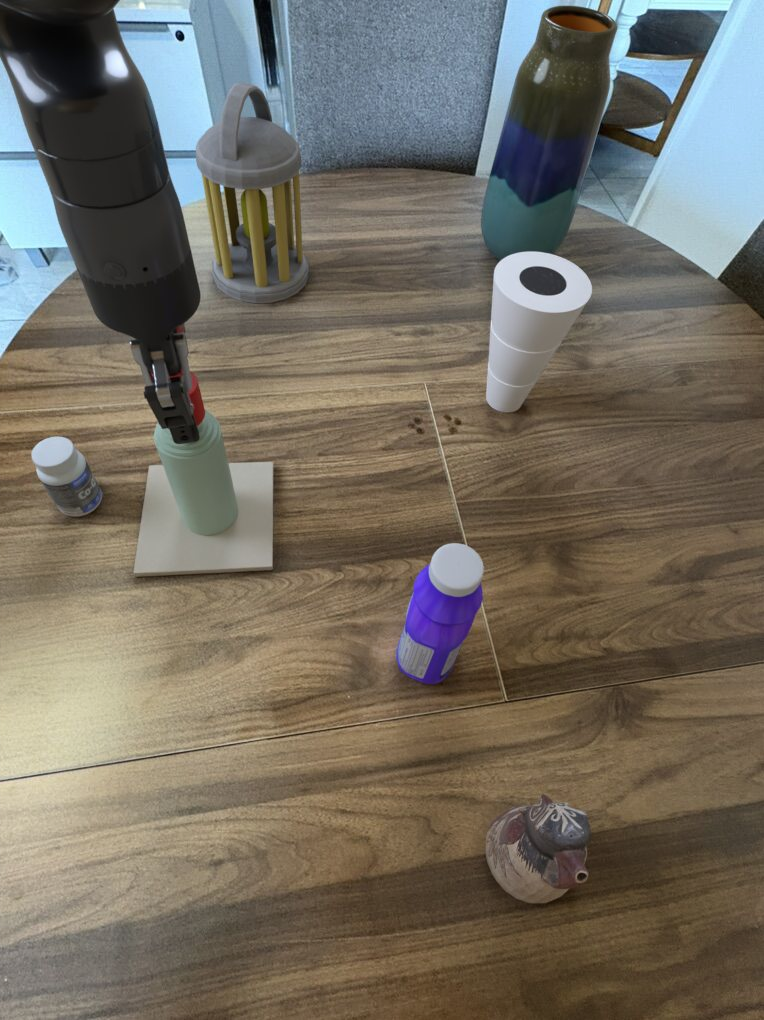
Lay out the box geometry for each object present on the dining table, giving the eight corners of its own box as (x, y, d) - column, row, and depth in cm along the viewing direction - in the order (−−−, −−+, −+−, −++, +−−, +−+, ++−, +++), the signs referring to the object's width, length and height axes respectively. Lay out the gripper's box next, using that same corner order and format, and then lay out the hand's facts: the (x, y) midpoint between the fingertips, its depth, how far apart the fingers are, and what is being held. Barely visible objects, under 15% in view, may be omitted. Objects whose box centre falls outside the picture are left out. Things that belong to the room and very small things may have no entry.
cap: (207, 399, 56) (200, 367, 52) (203, 431, 53) (196, 400, 50) (162, 399, 55) (152, 367, 52) (157, 432, 53) (146, 400, 50)
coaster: (134, 577, 63) (132, 573, 62) (150, 469, 71) (149, 465, 70) (273, 570, 64) (272, 566, 64) (273, 465, 72) (273, 461, 71)
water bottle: (180, 537, 65) (135, 417, 50) (183, 492, 68) (141, 366, 53) (238, 533, 66) (211, 413, 50) (238, 488, 69) (212, 363, 54)
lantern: (238, 237, 97) (214, 51, 77) (322, 259, 96) (320, 75, 75) (196, 288, 89) (155, 96, 69) (286, 313, 88) (272, 124, 67)
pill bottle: (97, 518, 66) (70, 470, 59) (52, 517, 66) (19, 469, 59) (108, 483, 69) (83, 433, 62) (64, 481, 69) (35, 432, 62)
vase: (521, 289, 95) (592, 50, 69) (456, 246, 100) (500, 10, 74) (575, 257, 101) (659, 26, 75) (511, 218, 106) (569, -10, 80)
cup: (506, 360, 85) (543, 241, 70) (560, 408, 81) (612, 291, 66) (447, 390, 81) (473, 270, 66) (501, 441, 77) (542, 325, 62)
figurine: (563, 808, 53) (616, 781, 43) (574, 906, 49) (636, 900, 39) (481, 804, 53) (516, 776, 43) (486, 902, 49) (526, 895, 39)
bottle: (412, 610, 63) (436, 516, 49) (464, 630, 62) (505, 541, 48) (386, 674, 59) (405, 592, 45) (442, 697, 58) (479, 621, 44)
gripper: (198, 306, 38) (237, 476, 52) (180, 185, 45) (219, 362, 60) (69, 321, 36) (145, 491, 51) (73, 193, 44) (138, 372, 58)
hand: (185, 420), depth 55 cm, fingers closed on cap, 4 cm apart
